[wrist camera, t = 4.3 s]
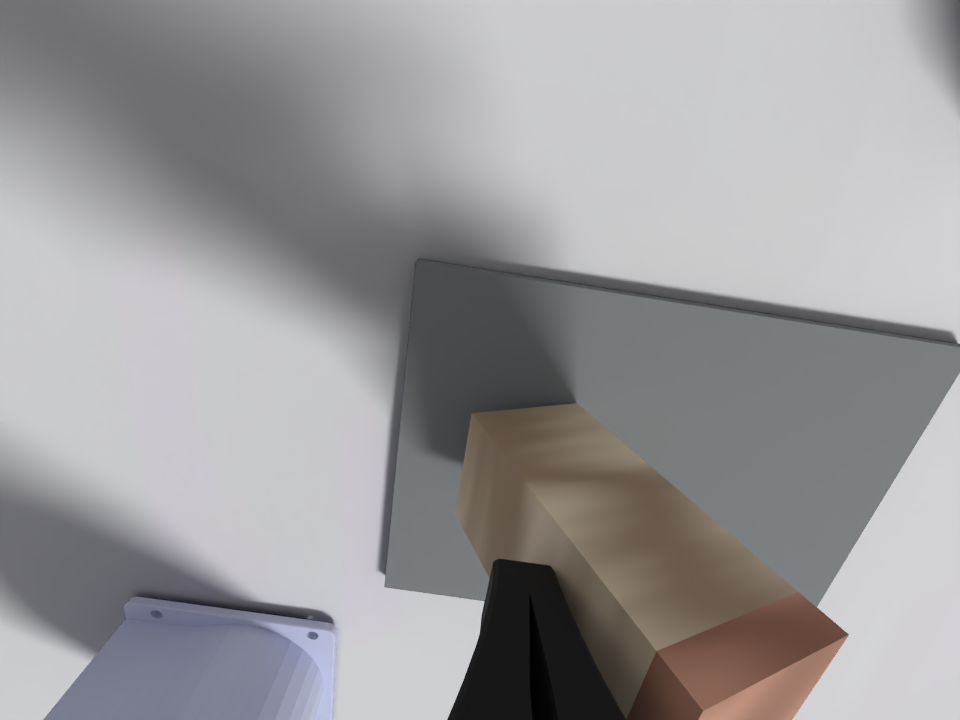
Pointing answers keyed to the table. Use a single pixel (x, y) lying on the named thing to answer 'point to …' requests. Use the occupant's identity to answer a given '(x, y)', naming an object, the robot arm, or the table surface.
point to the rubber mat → (661, 412)
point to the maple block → (641, 571)
